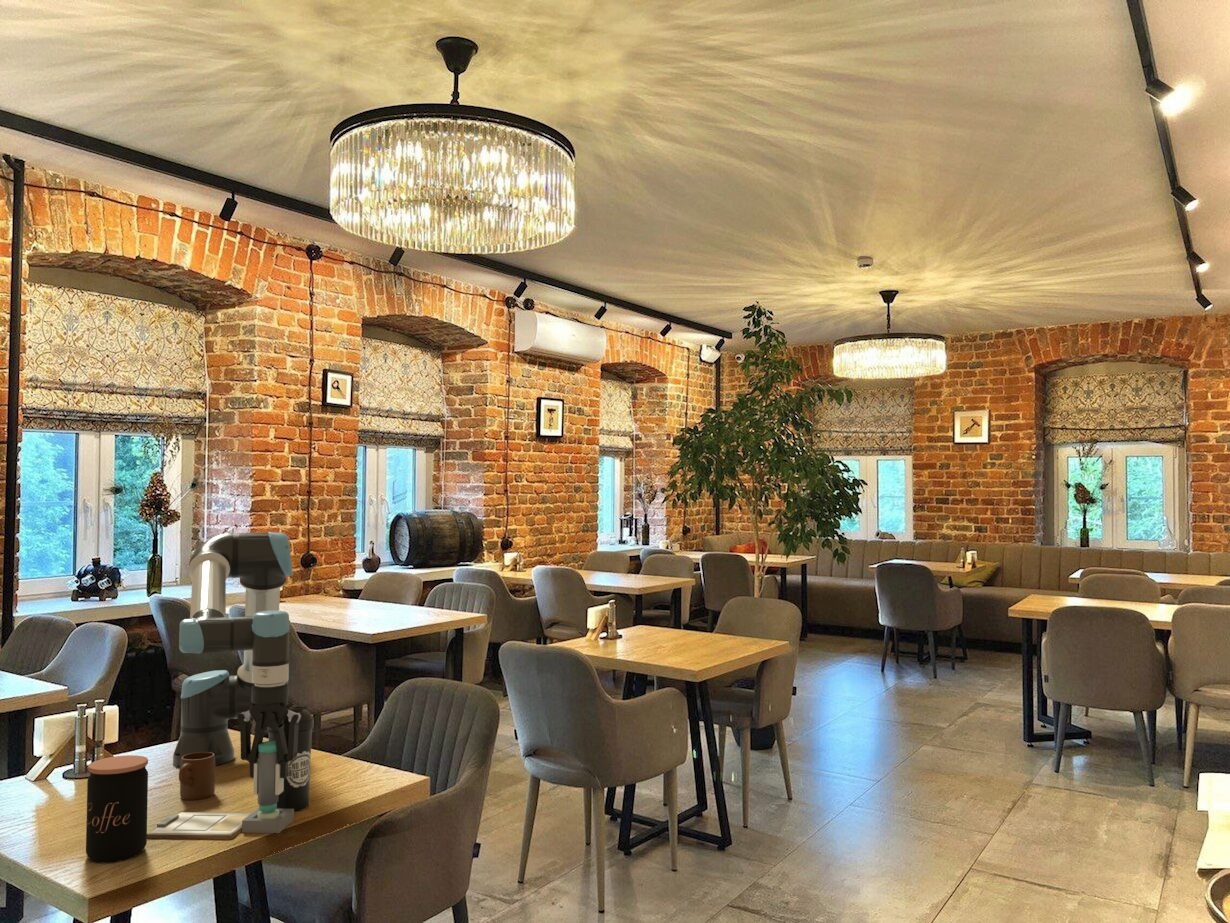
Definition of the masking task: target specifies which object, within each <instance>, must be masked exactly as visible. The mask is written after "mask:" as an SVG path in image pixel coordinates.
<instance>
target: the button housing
mask: <svg viewBox="0 0 1230 923" xmlns="http://www.w3.org/2000/svg"><path fill="white" fill-rule="evenodd" d="M277 810H279V816H278V817H276V818H275V819H269V818H257V813H258V812H259V807H258V808H255V810H254V811H252V812H250V813H251V814H250V815H249V816H247V817H246V818H245V819H243V820H242V831H241V833H242V834H243V833H244V832H246V833H245V834H247V833H248V834H251V833H252V834H253V833H254V834H255V833H257V834H280V833H281V832H282V831H283V830H285V828H287V827H288V826H289V825H290V824H291V823H292V822H294V820H295V819H294V818H295V817H294V816H295V814H294V813H295V812H294V809H277Z"/></svg>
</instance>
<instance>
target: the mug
mask: <svg viewBox="0 0 1230 923" xmlns="http://www.w3.org/2000/svg"><path fill="white" fill-rule="evenodd" d="M178 781H179V796H180V798H181V799H183V800H184V801H198V800H203V799H207V798H210V797H211V796H213V795H214V794H215V789H216V788H215V787H216V765H215V754H214V753H211V752H196V753H190V754H187V755H184V756H182V758H181V766H180V767H179V771H178Z"/></svg>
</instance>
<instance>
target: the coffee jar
mask: <svg viewBox="0 0 1230 923" xmlns="http://www.w3.org/2000/svg"><path fill="white" fill-rule="evenodd" d="M148 764H149V759H148V757H146V756H143V755H137V754H136V755H133V754H132V755H131V754H130V755H129V754H128V755H117V756H109V757H106V758H101V759H97V760H95V761H92V762H90V763H89V764H88V765H87V770H88V772H89V773H90V775H89V776H88V777H87V781H86V782H87V783H86V784H87V785H86V786H87V788H86V828H85V830H86V832H85V853H86V856H87V858H88V859H89V860H90V861H91V862H93V863H98V864H109V863H110V864H111V863H112V864H113V863H117V862H124V861H127V860H130V859H133V858H135V857H138V856H139V855H140V854H142V853H143V850H145V848H146V846H147V841H148V840H147V839H148V838H147V833H148V800H149V799H148V796H149V795H148V793H149V792H148V791H149V786H148V784H149V771H148V770H147V768H146V767H147V765H148Z"/></svg>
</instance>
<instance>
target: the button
mask: <svg viewBox="0 0 1230 923" xmlns="http://www.w3.org/2000/svg"><path fill="white" fill-rule="evenodd" d="M278 816H279V810H277V809H276V810H274V811H270V812H261V811H259V812H258V813H257V818H269V819H275V818H276V817H278Z"/></svg>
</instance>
